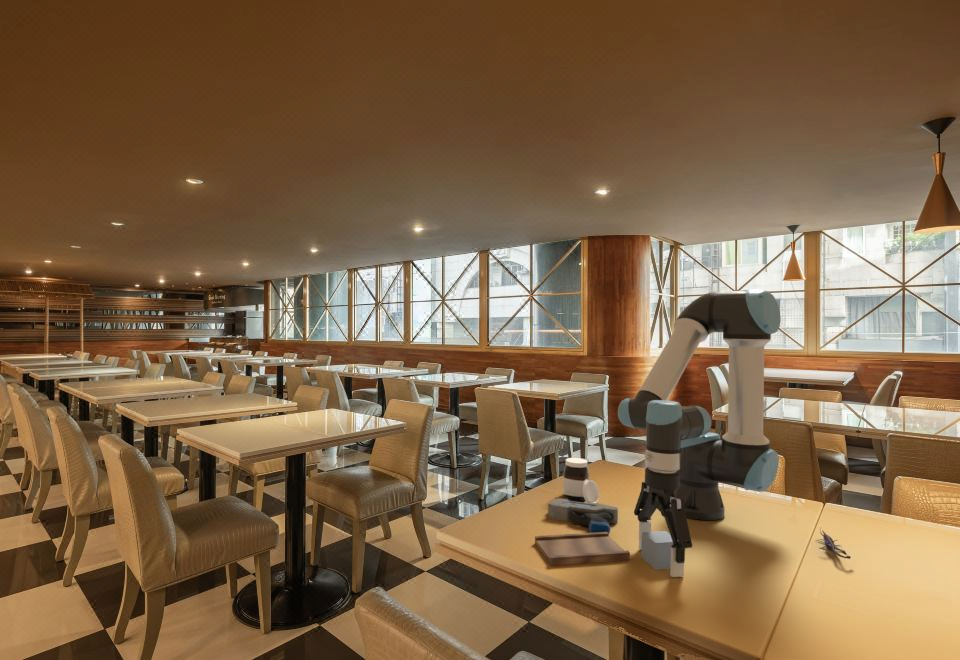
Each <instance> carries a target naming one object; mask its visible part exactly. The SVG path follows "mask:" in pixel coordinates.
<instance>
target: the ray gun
mask: <svg viewBox="0 0 960 660" xmlns="http://www.w3.org/2000/svg"><path fill="white" fill-rule="evenodd" d="M618 517H619V507H617V506H614V505H608V504H602V503H588V502H582V501H574V500H569V499H567V498H559V497H558V498H555V499H553V500H552V501H549V502H548V503H547V518H549V519H552V520H555V521H563V522H568V521H570V522H571V523H572V524H573V525H581V526H583V527H588V530H589V533H597V532H608V533H609V534H610V533H611V526H610V524H615V525H616V524H618V519H619V518H618Z"/></svg>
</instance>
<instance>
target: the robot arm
mask: <svg viewBox="0 0 960 660" xmlns="http://www.w3.org/2000/svg"><path fill="white" fill-rule="evenodd" d="M781 319H782V318H781V310H780V307H779V303H778V300H777V299H776V297H775V296H774V295H773V294H772V293H771V292H770V291H769V290H764V289H763V290H762V289H743V290H742V289H741V290H729V291H728V290H726V291H719V290H718V291H710V292H707V293H705V294H703V295H700V296H699V297H697V298H696V299H694V300H693V301H691V302H690V303H688V305H687V306H686V307H684V308H683V310H682V311H681V312H680V314H679V315H678V317H677V318H676V319H675V322H674V323H673V332H672V334H671V335H670V337H669V339H668V340H667V343H666V344H665V345H664V348H663V349H662V351H661V353H660V354H659V356H658V357H657V359H656V361H655V363H654V364H653V366H652V368H651V369H650V371H649V373H648V374H647V376H646V378H645V379H644V381H643V383H642V384H641V387H640V388H639V390H638V392H636V395H635V396H634V398H633V397H630V398H628V397H627V398H625V399H623V400H621V402H619V405H618V409H617V418H618V420H619V421H620V423H621V424H622V425H623V426H625V427H629V428H632V429H635V430H642V431H643V430H644V431H645V432H646V433H645V434H646V435H645V438H646V439H645V440H646V441H645V455H644V458H645V464H644V465H645V466H646V467H645V469H644V481H641V486H640V487H641V489H640V492H639V495H638V498H637V502H636V503H635V504H636V505H635V507H634V510H633V514H634V516H637V520H638V522H639V523H638V524H639V525H638V550H639V551H642V532H652V522H651V521H652V518H651V517H652V516H653V515H654V513H655V512H656V510H658V511H659V512H660V515H661V516H662V517H663V518H664V520H665V523H666V526H667V530H668V533H669V534H670V535H671V538H672V541H673V545H671V568H670V574H669V575H670V577H672V578H679V577H681V578H682V577H685V575H684V573H685V572H684V571H685V558H686V557H685V555H686V549H690V548H693V542H692V539H691V538H692V537H691V533H690V528H689V526H688V525H689V524H688V519H692V518H693V519H694V520H698V519H700V520H701V521H717V519H718V520H721V519H723V518H725V512H726V511H725V505H724V502H723V498H722V495H721V493H720V490H719V489H720V488H719V483H721V484H725V485H730V486H733V487H737V488H740V489H744V490H746V491H753V492H756V493H757V492H758V493H759V492H760V493H762V492H765V491H767V490H768V489H770V487H771V486H772V485H773V484H774V482H775V480H776V477H777V474H778V471H779V465H780V458H779V456H778V455H779V453H778V452H777V451H775V449H772V448H770V446H771V445H770V442H771V441H770V440H769V438H767V437H766V435H764V399H765V396H764V395H765V394H764V393H765V392H764V391H765V346H766V345H767V344H768V343H769V342H771V340H772V334H775V333H777V332H778V331H779V329H780V325H781ZM713 333H722V340H723V341H724V342H725V343H726V344H727V346H728V393H727V394H728V398H727V401H728V403H727V404H728V405H727V409H728V410H727V412H728V413H727V432H726V433H724V434H723V435H722V436H720V434H719V433H716V432H710V430H711V428H712V418H711V415H710V413H709V412H708V411H707V409H705V408H703V407H702V406H698V405H687V406H682V405H681V403H680V402H679V401H672V400H669V398H670V397H671V394H672V393H673V391H674V389H675V388H676V386H677V384H678V383H679V381H680V379H681V377H682V375H683V374H684V372H685V370H686V368H687V367H688V364H689V363H690V361H691V359H692V357H694V354H695V352H696V350H697V349H698V346H699V344H700V343H703V342H705V341H706V340H707V339H708V336H709V335H710V334H713ZM687 518H688V519H687ZM700 520H699V521H700ZM677 540H678V541H677Z"/></svg>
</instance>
